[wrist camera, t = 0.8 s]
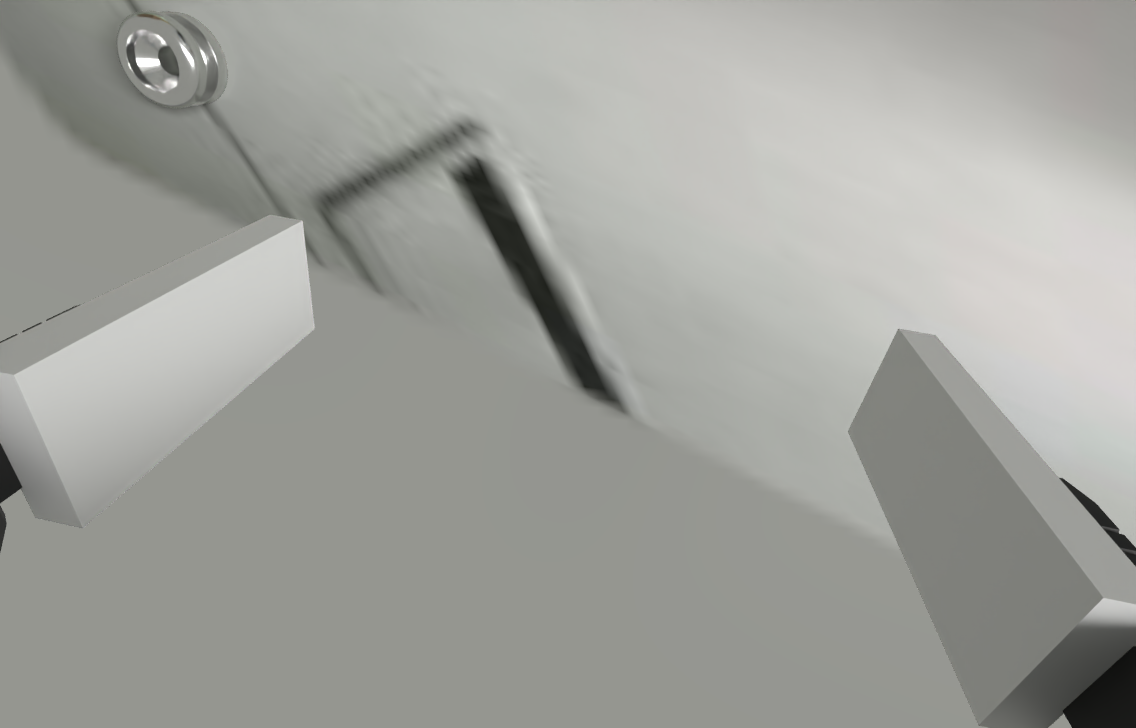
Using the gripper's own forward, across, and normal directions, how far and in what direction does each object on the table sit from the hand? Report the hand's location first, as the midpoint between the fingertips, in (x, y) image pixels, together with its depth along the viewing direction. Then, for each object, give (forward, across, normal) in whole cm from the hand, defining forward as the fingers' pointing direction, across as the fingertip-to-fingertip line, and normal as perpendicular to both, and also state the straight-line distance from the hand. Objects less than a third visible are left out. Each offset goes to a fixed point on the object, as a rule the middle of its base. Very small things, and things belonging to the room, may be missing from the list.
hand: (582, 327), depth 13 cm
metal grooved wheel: (+25, -28, 0) cm, 37 cm away
